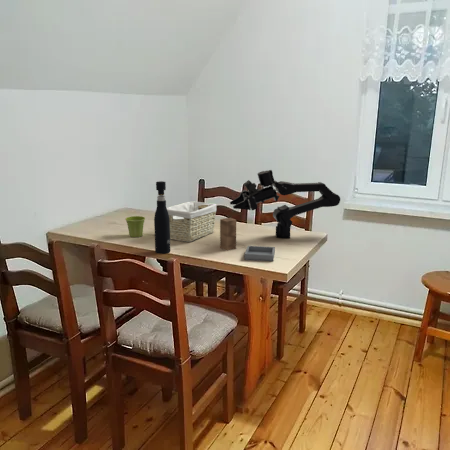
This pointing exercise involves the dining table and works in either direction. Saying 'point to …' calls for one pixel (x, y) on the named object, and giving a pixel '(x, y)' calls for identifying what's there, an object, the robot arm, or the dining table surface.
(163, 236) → the black bottle
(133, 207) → the dining table surface
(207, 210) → the storage basket
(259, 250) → the tray
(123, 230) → the dining table surface
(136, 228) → the plant pot
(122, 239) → the dining table surface
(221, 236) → the walnut block
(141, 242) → the dining table surface
